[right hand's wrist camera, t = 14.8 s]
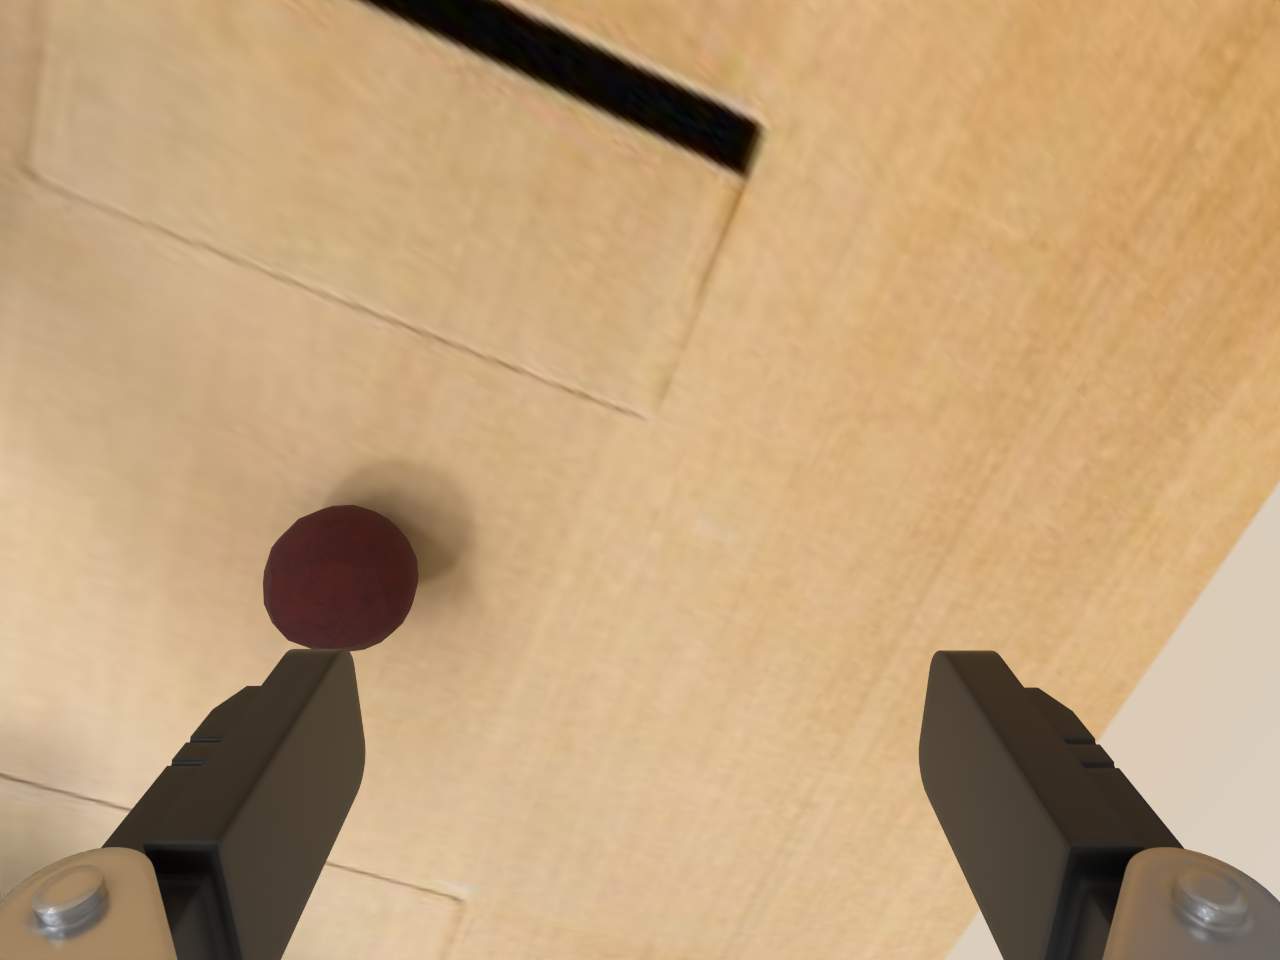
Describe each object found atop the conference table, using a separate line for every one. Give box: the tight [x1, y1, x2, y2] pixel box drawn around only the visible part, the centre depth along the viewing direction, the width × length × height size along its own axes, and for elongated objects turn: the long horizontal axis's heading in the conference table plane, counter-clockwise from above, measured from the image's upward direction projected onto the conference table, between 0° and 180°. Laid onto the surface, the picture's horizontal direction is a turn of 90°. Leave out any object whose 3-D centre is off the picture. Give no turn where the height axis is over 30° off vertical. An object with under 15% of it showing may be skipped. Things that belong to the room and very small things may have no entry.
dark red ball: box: [263, 505, 418, 651], centre depth 42 cm, size 7×8×7 cm
